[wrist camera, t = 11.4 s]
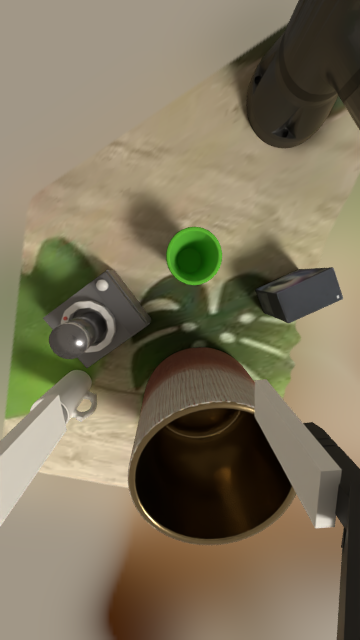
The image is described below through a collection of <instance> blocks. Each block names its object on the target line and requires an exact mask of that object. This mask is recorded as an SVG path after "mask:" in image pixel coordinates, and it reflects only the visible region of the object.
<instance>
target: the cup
mask: <svg viewBox="0 0 360 640" xmlns="http://www.w3.org/2000/svg"><path fill="white" fill-rule="evenodd" d="M166 260H167V265H168V268H169V270H170V272H171V273H172V274H173V276H174V277H175V278H176V279H178V280H179V281H180V282H183V283H185V284H189V285H199V284H202V283H205V282H207V281H209V280H210V279H212V278H213V276H214V275H215V274H216V273H217V271H218V270H219V268H220V265H221V261H222V251H221V246H220V244H219V241H218V240H217V238H216V237H215V236H214V235H213V234H212V233H211V232H209V231H208V230H206V229H204V228H200V227H188V228H185V229H183V230H181V231H179V232H178V233H177V234H175V236H174V237H173V238H172V239H171V241H170V243H169V245H168V248H167V252H166Z"/></svg>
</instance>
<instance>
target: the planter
mask: <svg viewBox="0 0 360 640" xmlns="http://www.w3.org/2000/svg"><path fill="white" fill-rule="evenodd" d="M128 486H129V491H130V495H131V498H132V501H133V503H134V505H135V507H136V509H137V510H138V512H139V513H140V514H141V516H142V517H143V518H144V519H145V520H146V521H147V522H148V523H149V524H150V525H151V526H152V527H153V528H155V529H156V530H158V531H159V532H161V533H163V534H164V535H166V536H168V537H171V538H173V539H176V540H179V541H182V542H186V543H190V544H198V545H221V544H228V543H233V542H237V541H240V540H243V539H246V538H248V537H251V536H253V535H255V534H257V533H259V532H261V531H263V530H264V529H266V528H267V527H269V526H270V525H271V524H273V523H274V522H275V521H276V520H277V519H278V518H280V517H281V516H282V514H283V513H284V512H285V511H286V510H287V508H288V507H289V506H290V504H291V503H292V501H293V499H294V498H295V496H296V492H295V490H294V488H293V486H292V484H291V483H290V481H289V479H288V477H287V475H286V473H285V471H284V470H283V468H282V466H281V464H280V462H279V460H278V459H277V457H276V455H275V453H274V451H273V449H272V447H271V446H270V444H269V442H268V440H267V438H266V436H265V435H264V433H263V431H262V429H261V427H260V425H259V423H258V422H257V420H256V418H255V382H254V381H253V380H252V378H251V377H250V375H249V374H248V373H247V371H246V370H245V369H244V368H243V366H242V365H241V364H240V363H239V362H238V361H236V360H235V359H234V358H233V357H231V356H230V355H228V354H226V353H224V352H222V351H219V350H216V349H212V348H205V347H196V348H189V349H185V350H181V351H179V352H176V353H174V354H172V355H171V356H169V357H167V358H166V359H165V360H163V361H162V362H161V363H160V364H159V365H158V366H157V367H156V369H155V370H154V372H153V373H152V375H151V376H150V378H149V381H148V383H147V386H146V389H145V393H144V398H143V403H142V408H141V412H140V417H139V422H138V427H137V432H136V436H135V441H134V445H133V450H132V454H131V459H130V463H129V469H128Z"/></svg>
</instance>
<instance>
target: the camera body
mask: <svg viewBox="0 0 360 640" xmlns="http://www.w3.org/2000/svg"><path fill="white" fill-rule="evenodd" d="M87 312H94V313H97V314H99V315H100V316H101V317H102V318H103V319H104V321H105V325H106V328H105V332H104V333H103V335H102V336H101V337H100V338H99V339H98V340H96V341H95V342H94V343H93V344H92V345H91V346H90V347H89V348H88V349H87V350H86V351H85V352H84V353H83V354H82V355H80V356H79V357H77V358H78V359H79V360H80V361H81V362H82V363H83V364H84V366H85V367H86V368H88V367H89V366H91V365H92V364H94V363H95V362H97V361H98V360H99V359H101V358H102V357H104V356H105V355H106V354H108V353H109V352H111V351H112V350H114V349H115V348H116V347H118V346H119V345H121V344H122V343H124V342H125V341H126V340H128V339H129V338H131V337H132V336H133V335H135V334H136V333H138V332H139V331H141V330H142V329H143V328H145V327H146V326H148V325H149V324H150V321H151V318H150V317H149V315H148V314H147V313H146V311H145V310H144V309H143V307H142V306H141V305H140V303H139V302H138V301H137V299H136V298H135V297H134V295H133V294H132V293H131V291H130V290H129V289H128V287H127V286H126V285H125V283H124V282H123V281H122V279H121V278H120V277H119V275H118V274H117V273H116V272H115V270H106V271H105V272H104V273H102V274H101V275H100V276H98V277H97V278H96V279H94V280H93V281H92V282H90V283H89V284H88V285H86V286H85V287H84V288H82V289H81V290H80V291H78V292H77V293H76V294H74V295H73V296H72V297H70V298H69V299H68V300H66V301H65V302H64V303H62V304H61V305H60V306H58V307H57V308H56V309H54V310H53V311H52V312H50V313H49V314H48V315H46V316H45V317H44V318H43V319H44V320H45V321H46V322H47V323H48V325H49V326H50V327H51V328H52V329H55V328H56V327H57V326H59V325H61V324H63V323H66V322H68V321H70V320H72V319H74V318H76V317H78V316H80V315H82V314H84V313H87Z"/></svg>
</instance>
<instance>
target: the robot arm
mask: <svg viewBox="0 0 360 640" xmlns="http://www.w3.org/2000/svg"><path fill="white" fill-rule="evenodd" d="M338 95H339V97H340V99H341V100H342V102H343V104H344V105H345V107H346V109H347V110H348V112H349V114H350V115H351V117H352V118H353V120H354V122H355V123H356V125H357V126H358V128H359V130H360V0H299V1H298V3H297V5H296V8H295V10H294V12H293V15H292V16H291V19H290V21H289V23H288V26H287V28H286V30H285V32H284V33H283V34H282V35H281V36H280V38H279V39H278V40H277V41H276V42H275V43H274V45H273V46H272V47H271V48H270V49H269V50H268V51H267V53H266V54H265V55H264V56H263V58H262V59H261V61H260V63H259V64H258V66H257V68H256V70H255V73H254V75H253V78H252V80H251V83H250V86H249V89H248V95H247V112H248V117H249V120H250V123H251V125H252V128H253V129H254V131H255V132H256V134H257V135H258V136H259V137H260V138H261V139H262V140H263V141H264V142H266V143H267V144H269V145H271V146H274V147H278V148H290V147H294V146H297V145H299V144H301V143H303V142H304V141H306V140H307V139H308V138H310V137H311V136H312V135H313V134H314V133H315V132H316V131H317V130H318V129H319V128H320V126H321V125H322V124H323V123H324V121H325V120H326V118H327V117H328V115H329V113H330V111H331V109H332V107H333V105H334V103H335V101H336V99H337V97H338ZM255 418H256V420H257V422H258V423H259V425H260V427H261V429H262V431H263V433H264V435H265V436H266V438H267V440H268V442H269V444H270V446H271V447H272V449H273V451H274V453H275V455H276V457H277V459H278V460H279V462H280V464H281V466H282V468H283V470H284V471H285V473H286V475H287V477H288V479H289V481H290V483H291V484H292V486H293V488H294V490H295V492H296V494H297V495H298V497H299V499H300V501H301V503H302V505H303V507H304V508H305V510H306V512H307V514H308V516H309V518H310V519H311V521H312V523H313V525H314V527H315V528H324V527H335V520H336V516H337V517H338V519H339V520H340V522H341V523H342V525H343V526H344V532H343V538H342V545H341V547H342V562H341V579H340V595H339V613H338V630H337V640H360V469H359V468H358V467H357V466H356V464H355V463H354V462H353V461H352V460H351V459H350V458H349V457H348V456H347V455H346V454H345V452H344V451H343V450H342V449H341V448H340V447H338V446H337V444H336V443H335V442H334V441H333V440H332V439H331V437H330V436H329V435H328V434H327V433H326V432H325V431H324V430H323V429H322V428H320V427H319V426H317V425H315V424H314V423H313V422H311V423H302V422H301V420H300V419H299V418H298V417H297V416H296V414H295V413H294V412H293V411H292V410H291V408H290V407H289V406H288V405H287V404H286V402H285V401H284V400H283V399H282V398H281V396H280V395H279V394H278V393H277V392H276V390H275V389H274V388H273V387H272V386H271V384H270V383H269V382H268V381H267V380H266V379H265V380H255ZM66 430H67V429H66V424H65V420H64V415H63V411H62V406H61V402H60V397H59V395H47V396H46V397H45V398H44V399H43V400H42V401H41V402H40V403H39V404H38V405H37V406H36V407H35V408H34V409H33V410H32V411H31V412H30V413H29V414H28V415H27V416H26V417H25V418H24V419H22V420H21V421H20V422H19V423H18V424H17V425H16V426H15V427H14V428H13V429H12V430H11V431H10V432H9V433H8V434H7V435H6V436H5V437H4V438H3V439H2V440H1V441H0V526H1V525H2V523H3V522H4V520H5V519H6V517H7V516H8V515H9V513H10V511H11V510H12V508H13V507H14V505H15V504H16V503H17V501H18V500H19V499H20V497H21V496H22V494H23V493H24V491H25V490H26V488H27V487H28V485H29V484H30V482H31V481H32V480H33V478H34V477H35V475H36V474H37V472H38V471H39V469H40V468H41V467H42V465H43V464H44V462H45V461H46V459H47V458H48V456H49V455H50V453H51V452H52V451H53V449H54V448H55V446H56V445H57V443H58V442H59V440H60V439H61V437H62V436H63V435H64V433H65V432H66Z"/></svg>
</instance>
